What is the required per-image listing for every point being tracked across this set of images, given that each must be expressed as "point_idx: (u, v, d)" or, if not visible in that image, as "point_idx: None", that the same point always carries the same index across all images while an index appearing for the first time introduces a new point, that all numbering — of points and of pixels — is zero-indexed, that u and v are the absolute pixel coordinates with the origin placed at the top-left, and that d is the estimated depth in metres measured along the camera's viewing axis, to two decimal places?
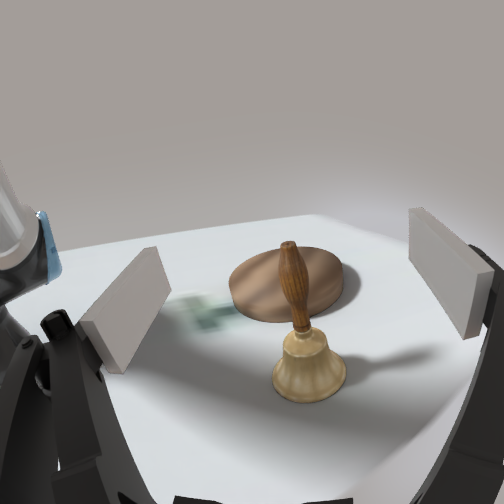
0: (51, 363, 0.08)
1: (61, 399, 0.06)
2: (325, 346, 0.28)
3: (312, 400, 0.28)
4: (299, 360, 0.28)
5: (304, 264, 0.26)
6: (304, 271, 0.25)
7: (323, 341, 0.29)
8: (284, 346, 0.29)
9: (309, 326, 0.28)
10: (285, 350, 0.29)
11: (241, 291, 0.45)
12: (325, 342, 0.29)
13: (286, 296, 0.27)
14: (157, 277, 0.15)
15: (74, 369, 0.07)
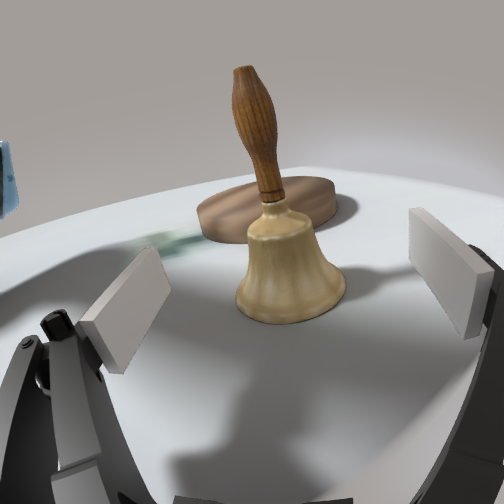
0: (51, 363, 0.08)
1: (61, 399, 0.06)
2: (309, 228, 0.20)
3: (294, 318, 0.19)
4: (269, 246, 0.19)
5: (266, 92, 0.17)
6: (266, 99, 0.17)
7: (305, 220, 0.20)
8: (248, 231, 0.21)
9: (283, 194, 0.19)
10: (249, 236, 0.20)
11: (209, 211, 0.36)
12: (309, 223, 0.20)
13: (244, 139, 0.18)
14: (157, 277, 0.15)
15: (74, 369, 0.07)
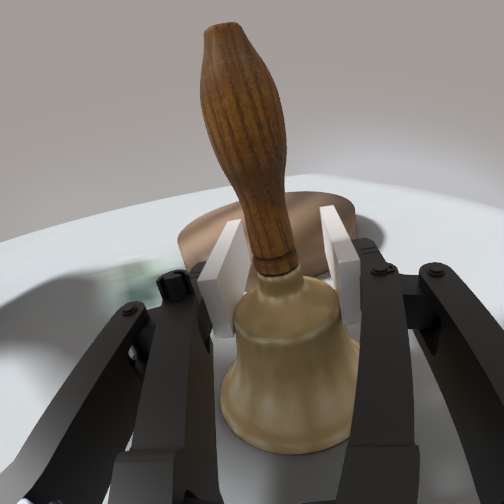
0: (158, 325, 0.09)
1: (158, 369, 0.07)
2: (338, 317, 0.11)
3: (305, 450, 0.11)
4: (270, 353, 0.11)
5: (266, 70, 0.08)
6: (266, 82, 0.08)
7: (331, 303, 0.11)
8: (235, 318, 0.12)
9: (294, 260, 0.11)
10: (236, 327, 0.12)
11: (192, 243, 0.28)
12: (337, 307, 0.11)
13: (222, 161, 0.09)
14: (243, 248, 0.16)
15: (182, 339, 0.08)
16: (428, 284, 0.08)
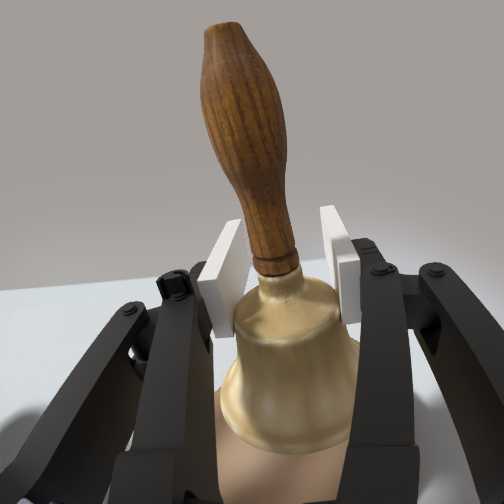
0: (158, 325, 0.09)
1: (158, 369, 0.07)
2: (338, 318, 0.11)
3: (305, 450, 0.11)
4: (270, 354, 0.11)
5: (266, 69, 0.08)
6: (267, 82, 0.08)
7: (332, 303, 0.11)
8: (235, 318, 0.12)
9: (295, 261, 0.11)
10: (236, 328, 0.12)
11: None
12: (338, 307, 0.11)
13: (223, 161, 0.09)
14: (243, 248, 0.16)
15: (182, 339, 0.08)
16: (428, 284, 0.08)
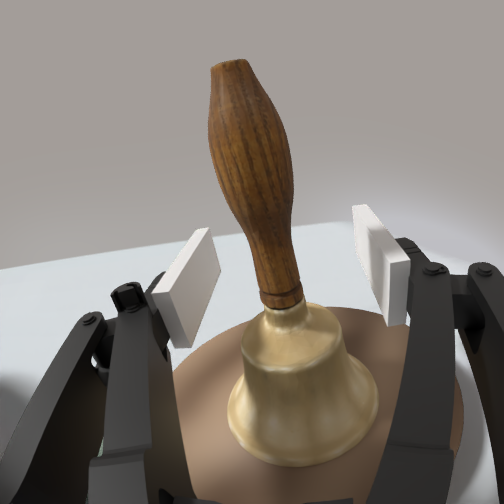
0: (116, 337, 0.09)
1: (119, 378, 0.07)
2: (339, 345, 0.12)
3: (307, 463, 0.11)
4: (275, 379, 0.11)
5: (274, 111, 0.09)
6: (275, 126, 0.09)
7: (333, 332, 0.12)
8: (242, 344, 0.13)
9: (299, 294, 0.11)
10: (244, 354, 0.12)
11: None
12: (339, 335, 0.12)
13: (231, 204, 0.10)
14: (211, 257, 0.16)
15: (139, 348, 0.08)
16: (476, 282, 0.07)
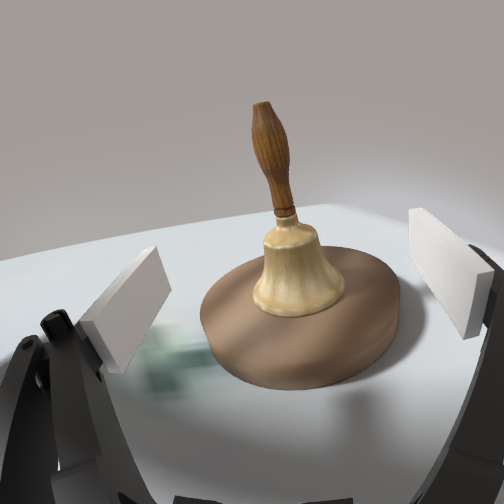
0: (51, 363, 0.08)
1: (61, 399, 0.06)
2: (315, 238, 0.24)
3: (302, 313, 0.23)
4: (282, 254, 0.23)
5: (281, 125, 0.21)
6: (281, 131, 0.21)
7: (312, 232, 0.24)
8: (264, 241, 0.25)
9: (293, 210, 0.23)
10: (265, 244, 0.24)
11: (219, 327, 0.24)
12: (315, 234, 0.24)
13: (262, 165, 0.22)
14: (157, 277, 0.15)
15: (74, 369, 0.07)
16: None
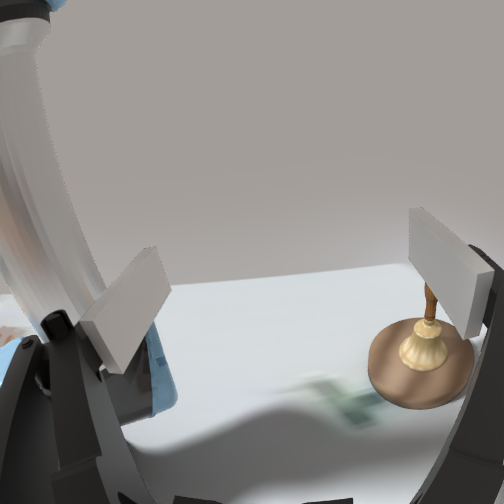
0: (51, 363, 0.08)
1: (61, 399, 0.06)
2: (441, 330, 0.37)
3: (432, 369, 0.36)
4: (428, 340, 0.36)
5: None
6: None
7: (440, 326, 0.37)
8: (417, 332, 0.38)
9: None
10: (418, 334, 0.38)
11: (391, 381, 0.37)
12: (441, 327, 0.37)
13: (428, 297, 0.35)
14: (157, 277, 0.15)
15: (74, 369, 0.07)
16: None
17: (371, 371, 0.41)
